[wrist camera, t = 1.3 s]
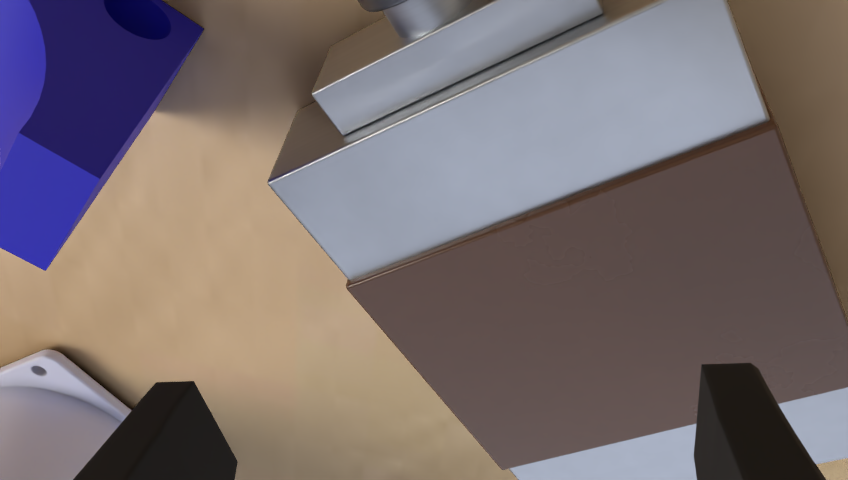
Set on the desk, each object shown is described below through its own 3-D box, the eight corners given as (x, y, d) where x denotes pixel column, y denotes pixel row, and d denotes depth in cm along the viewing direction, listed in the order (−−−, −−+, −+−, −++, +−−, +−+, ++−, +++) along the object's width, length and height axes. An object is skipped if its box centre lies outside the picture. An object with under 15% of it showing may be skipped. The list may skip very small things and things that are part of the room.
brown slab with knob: (546, 439, 28) (548, 526, 25) (211, 4, 18) (160, 74, 16) (857, 362, 24) (895, 456, 21) (634, -251, 14) (658, -212, 12)
